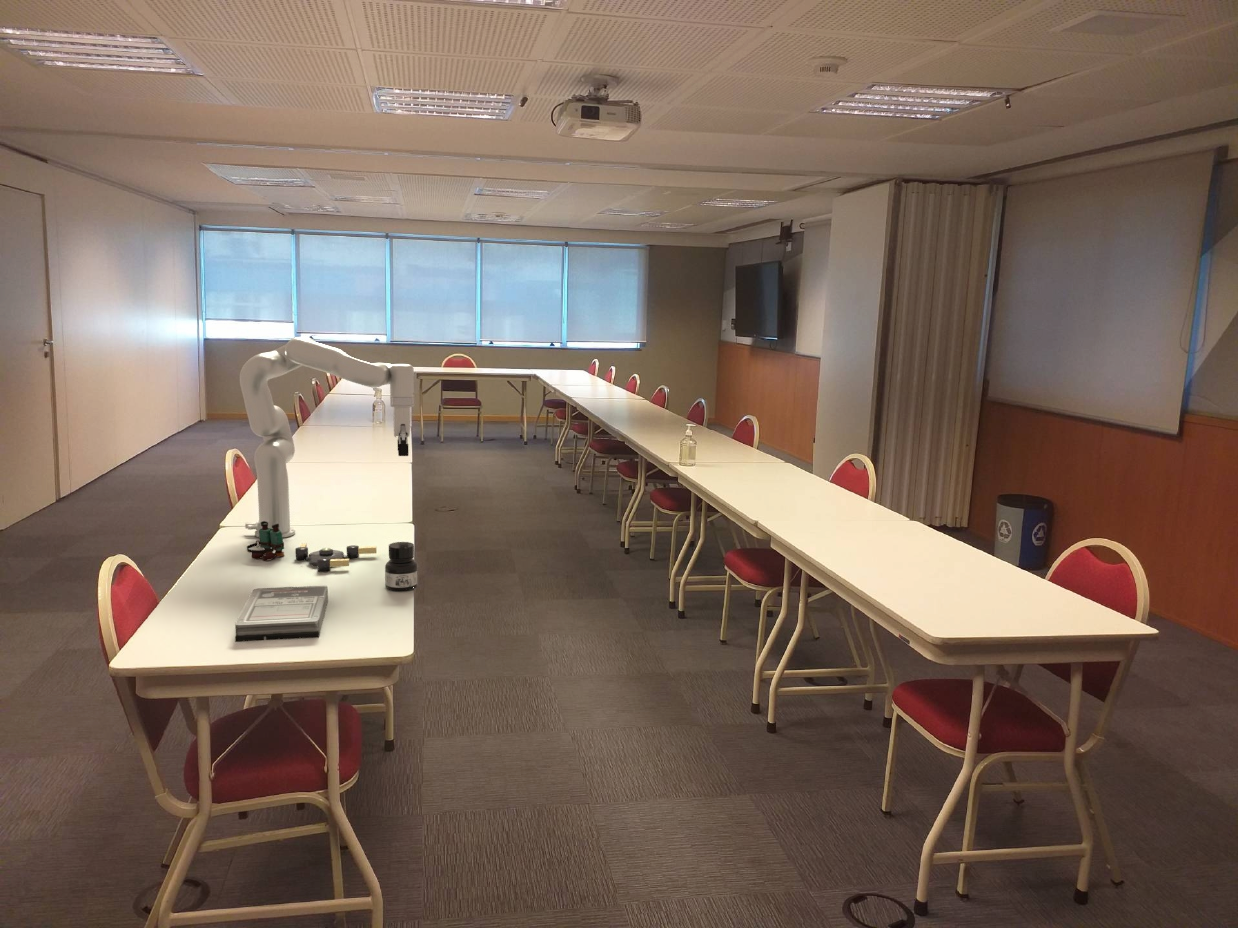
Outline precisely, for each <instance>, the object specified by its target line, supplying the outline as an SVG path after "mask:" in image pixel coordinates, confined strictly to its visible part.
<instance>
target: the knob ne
mask: <svg viewBox="0 0 1238 928" xmlns="http://www.w3.org/2000/svg"><path fill="white" fill-rule="evenodd" d="M369 554H370V555H371V554H372V555H373V554H377V546H359V545H356V544H355V545H346V555H347V556H348V559H349V560H356V559H359V558H360V555H369Z"/></svg>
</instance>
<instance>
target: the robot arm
mask: <svg viewBox="0 0 1238 928" xmlns="http://www.w3.org/2000/svg"><path fill="white" fill-rule="evenodd" d="M301 367H307V368H310V369H312V370H317V371H320V372H324V373H326V374H328V375H329V374H330V375H332V376H335V377H337V378H340V379H343V380H346V381H349V382H352V383H355V384H357V385H362V386H364V387H368V388H373V389H375V388H376V389H377V388H380V387H382V386H385V385H389V392H390V393H389V394H390V396H389V398H390V399H389V400H390V405H389V406H390V407H392V408H393V437H394V438H397V454H398V457H408V456H410V455H409V443H408V438H410V434H411V433H410V431H411V408H413V407H415V393H414V388H415V386H414V385H415V382H414V378H415V377H414V374H415V373H414V367H413V365H411V364H408V363H394V364H391V363H387V362H386V363H385V362H374V363H370V362H367V361H364V360H360V359H358V358H354V357H352V356H350V355H348V354H347V353H346V352H345V351H343V350H342V349H340V348H337V347H333V346H330V345H327V344H323V343H321V342H320V343H319V342H316V340H314V339H313V338H311V337H309V336H296V337H293V338H291V339H289V340H288V342H287V343H286V344H285V345H282V346H280V347H278V348H276V349H274V350H270V351H268V352H266V351H265V352H260V353H258V354H255V355H254V356H252V357H251V358H249V359H248V360H247V361H246V362H245V363H244V364H243V366H242V368H241V370H240V371H239V372H240V373H239V386H240V389H241V393H242V397H243V401H244V407H245V411H246V414H247V419H248V423H249V426H250V429H251V432H253V434H254V435H256V436H257V437H260V438H261V437H262V440H263V442H261V443H260V444H259V445H258V447H257V448H256V449H255V452H254V456H253V457H254V467H255V471H256V480H257V484H256V485H257V501H258V521H255V522H245V525H244V527H245V529H247V530H250V531H251V530H255V531H254V536H255V537H256V538H259V529H261V528H262V526H261V522H262V521H266V522H268V528H272V525H275V524H279V527H278V528H279V530H281V532H282V538H288V537H292V536H294V535H295V534H296V529H295V528H294V527H291V523H290V522H291V520H290V517H291V516H290V515H291V514H290V491H289V490H290V489H289V474H288V470H287V463H290V461H291V460H292V459H293V457H294V455H295V451H296V450H295V443H294V438H293V434H292V431H291V426H290V423H289V418H288V415H287V414H286V412H285V411H284V410H283V408H281V407H280V406H278V405H274V404H275V403H274V401H273V395H272V392H271V389H270V387H269V385H268V382H269V380H271V379H275V378H278V377H281V376H283V375H286V374H288V373H290V372H291V371H295V370H297V369H299V368H301ZM272 529H273V528H272Z"/></svg>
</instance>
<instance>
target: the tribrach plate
mask: <svg viewBox="0 0 1238 928" xmlns="http://www.w3.org/2000/svg"><path fill="white" fill-rule="evenodd" d="M319 558H330V560H332V559H348V556H347V554H345V553H344V552H343V551H342V550H337V549H333V548H330V547H323V548H321V549H319V550H317V551H313V552H310V553H308V557H306V560H305V561H306V562H308V564H309V565H310V566H311V567H317V568H318V566H317V559H319Z"/></svg>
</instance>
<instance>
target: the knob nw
mask: <svg viewBox="0 0 1238 928" xmlns="http://www.w3.org/2000/svg"><path fill="white" fill-rule="evenodd" d="M307 544H308V543H306V542H305V543H301V544H300V546H298V547H296V548H295V560H296V561H299V562H301V561H302V562H304V561H306V557H308V556H309V548H308V546H307Z"/></svg>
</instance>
